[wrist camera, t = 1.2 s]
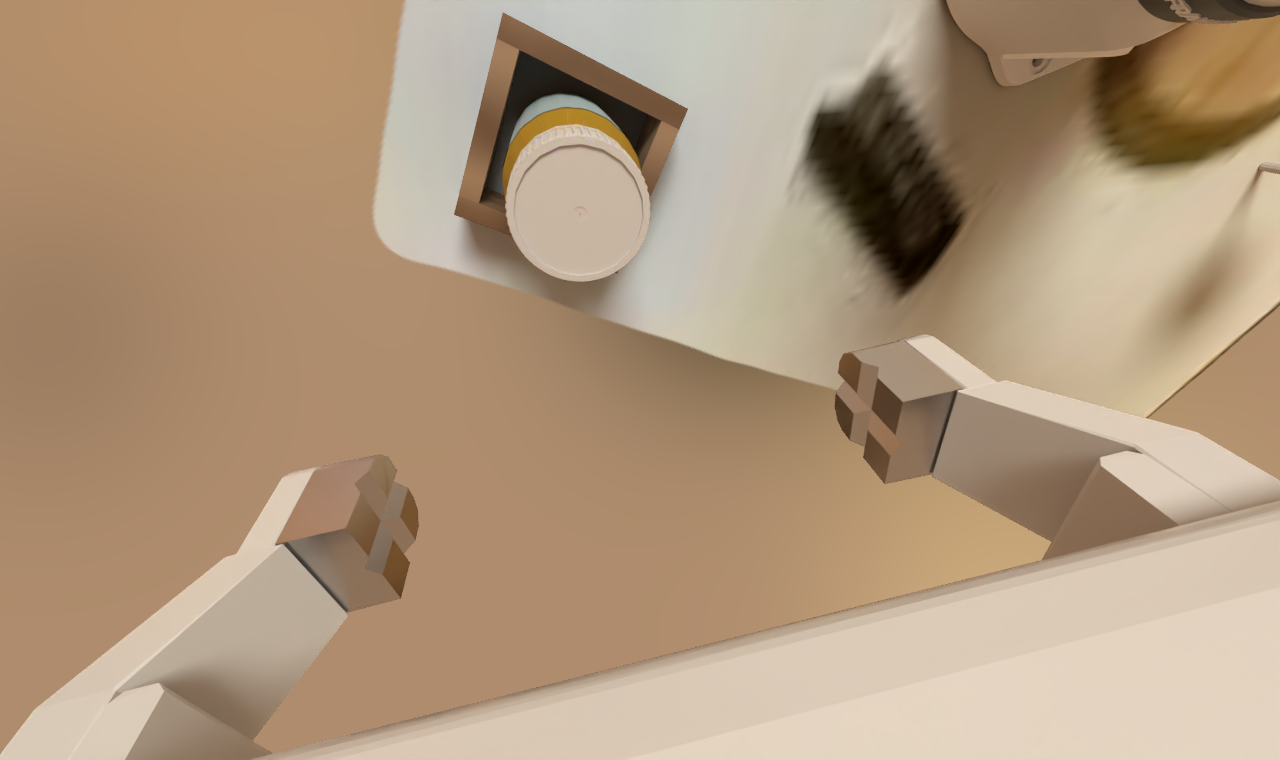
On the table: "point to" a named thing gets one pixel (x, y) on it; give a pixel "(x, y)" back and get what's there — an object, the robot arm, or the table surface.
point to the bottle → (574, 189)
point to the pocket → (521, 37)
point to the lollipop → (1270, 167)
